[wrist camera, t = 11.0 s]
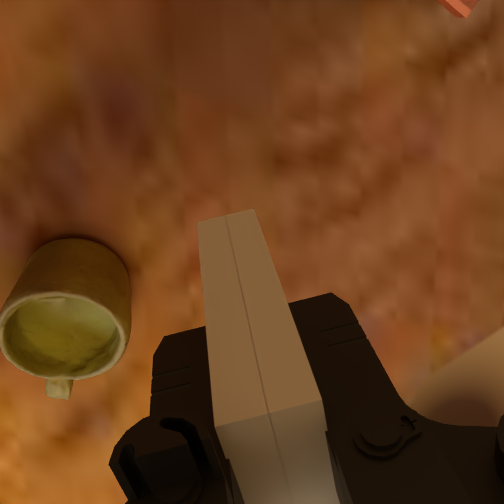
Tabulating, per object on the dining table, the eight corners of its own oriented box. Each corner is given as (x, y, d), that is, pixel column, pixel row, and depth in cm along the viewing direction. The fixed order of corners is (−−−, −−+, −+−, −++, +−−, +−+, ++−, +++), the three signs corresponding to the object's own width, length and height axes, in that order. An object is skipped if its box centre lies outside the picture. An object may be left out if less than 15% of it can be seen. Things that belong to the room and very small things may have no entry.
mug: (13, 206, 36) (13, 310, 30) (142, 230, 42) (164, 321, 36) (-19, 310, 43) (-25, 413, 36) (96, 318, 48) (109, 408, 42)
